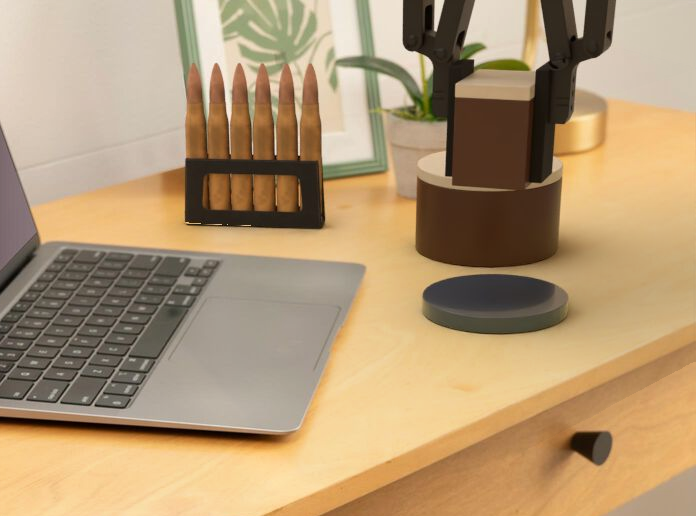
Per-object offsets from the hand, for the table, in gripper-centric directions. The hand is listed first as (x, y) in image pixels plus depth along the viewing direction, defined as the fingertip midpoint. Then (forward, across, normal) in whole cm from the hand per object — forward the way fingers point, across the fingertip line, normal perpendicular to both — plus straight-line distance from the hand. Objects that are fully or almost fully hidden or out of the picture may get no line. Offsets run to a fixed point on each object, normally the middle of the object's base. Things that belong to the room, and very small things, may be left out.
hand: (498, 174), depth 91 cm
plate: (+9, 0, 0) cm, 9 cm away
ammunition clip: (+9, -22, +15) cm, 28 cm away
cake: (+9, -4, +14) cm, 17 cm away
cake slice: (0, 0, 0) cm, 0 cm away
